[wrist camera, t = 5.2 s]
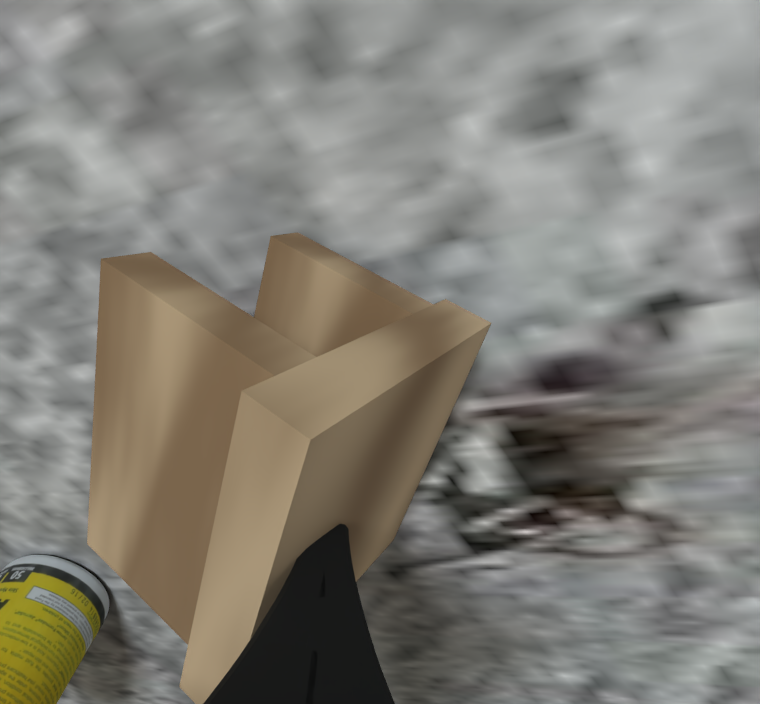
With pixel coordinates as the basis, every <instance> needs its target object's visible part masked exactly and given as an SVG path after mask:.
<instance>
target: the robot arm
mask: <svg viewBox="0 0 760 704" xmlns="http://www.w3.org/2000/svg"><path fill="white" fill-rule="evenodd" d="M203 704H395V703H394V701H393V698H392V696H391V693H390V691H389V688H388V686H387V683H386V680H385V678H384V675H383V672H382V670H381V667H380V664H379V661H378V658H377V655H376V652H375V649H374V646H373V643H372V640H371V637H370V634H369V630H368V627H367V623H366V620H365V616H364V613H363V609H362V605H361V601H360V597H359V593H358V589H357V584H356V580H355V575H354V569H353V564H352V558H351V551H350V543H349V529H348V528H347V526H346V525H345V524H339V525H337V526H336V527H334V528H333V529H331V530H330V531H329V532H327V533H326V534H324V535H323V536H322V537H321V538H319V539H318V540H317V541H315V542H314V543H313V544H311V545H310V546H309V547H308V548H306V549H305V550H304V552H303V553H302V554H301V555H300V556H299V557H298V558H297V559H296V562H295V564H294V566H293V568H292V570H291V572H290V574H289V576H288V577H287V579H286V581H285V583H284V585H283V587H282V589H281V591H280V593H279V594H278V596H277V598H276V600H275V601H274V603H273V605H272V606H271V608H270V609H269V611H268V613H267V614H266V616H265V618H264V619H263V621H262V622H261V624H260V626H259V627H258V629H257V630H256V632H255V634H254V635H253V637H252V638H251V640H250V641H249V642H248V644H247V645H246V647H245V648H244V650H243V651H242V653H241V654H240V656H239V657H238V658H237V660H236V661H235V663H234V664H233V665H232V667H231V668H230V669H229V671H228V672H227V674H226V675H225V676H224V677H223V679H222V680H221V681H220V683H219V684H218V685H217V687H216V688H215V689H214V690H213V692H212V693H211V694H210V696H209V697H208V698H207V700H206V701H205V702H204V703H203Z"/></svg>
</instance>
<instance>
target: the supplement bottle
mask: <svg viewBox="0 0 760 704" xmlns="http://www.w3.org/2000/svg"><path fill="white" fill-rule="evenodd" d="M108 611H109V597H108V594H107V592H106V590H105V588H104V586H103V585H102V584H101V583H100V581H99V580H98V579H97V578H96V577H95V576H94V575H92V574H91V573H90V572H88V571H87V570H85V569H84V568H82V567H80V566H78V565H76V564H74V563H72V562H70V561H67V560H65V559H62V558H59V557H55V556H49V555H29V556H24V557H21V558H18V559H16V560H14V561H12V562H11V563H9V564H8V565H7V566H6V567H5V568H4V569H3V570H2V571H1V572H0V704H56V703H57V702H58V700H59V698H60V697H61V695H62V693H63V691H64V690H65V688H66V686H67V684H68V683H69V681H70V679H71V678H72V676H73V674H74V672H75V671H76V669H77V667H78V666H79V664H80V662H81V660H82V659H83V657H84V655H85V654H86V652H87V650H88V648H89V647H90V645H91V643H92V641H93V640H94V638H95V637H96V635H97V633H98V631H99V629H100V628H101V626H102V624H103V622H104V620H105V618H106V616H107V614H108Z"/></svg>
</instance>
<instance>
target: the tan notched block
mask: <svg viewBox="0 0 760 704" xmlns="http://www.w3.org/2000/svg"><path fill="white" fill-rule="evenodd" d="M490 325H491V323H490V322H488V321H486V320H485V319H483V318H481V317H479V316H477V315H475V314H473V313H471V312H469V311H467V310H465V309H463V308H462V307H460V306H458V305H456V304H454V303H452V302H450V301H448V300H446V299H445V300H443V301H440V302H438V303H436V304H434V305H433V304H431V303H429V302H427V301H426V300H424V299H422V298H420V297H418V296H416V295H414V294H412V293H410V292H409V291H407V290H405V289H403V288H401V287H399V286H397V285H395V284H394V283H392V282H390V281H388V280H386V279H384V278H382V277H380V276H378V275H377V274H375V273H373V272H371V271H369V270H367V269H365V268H363V267H362V266H360V265H358V264H356V263H354V262H352V261H350V260H348V259H346V258H345V257H343V256H341V255H339V254H337V253H335V252H333V251H331V250H330V249H328V248H326V247H324V246H322V245H320V244H318V243H316V242H314V241H313V240H311V239H309V238H307V237H305V236H303V235H301V234H299V233H290V234H283V235H275V236H271V238H270V243H269V248H268V252H267V257H266V262H265V267H264V272H263V277H262V281H261V286H260V291H259V296H258V301H257V305H256V310H255V315H254V317H252V316H251V315H249V314H248V313H246V312H245V311H243V310H241V309H240V308H238V307H237V306H235V305H233V304H232V303H230V302H229V301H227V300H226V299H224V298H222V297H221V296H219V295H218V294H216V293H215V292H213V291H211V290H210V289H208V288H207V287H205V286H203V285H202V284H200V283H199V282H197V281H196V280H194V279H192V278H191V277H189V276H188V275H186V274H185V273H183V272H181V271H180V270H178V269H177V268H175V267H173V266H172V265H170V264H169V263H167V262H166V261H164V260H162V259H161V258H159V257H158V256H156V255H155V254H153V253H151V252H148V253H141V254H133V255H126V256H118V257H111V258H103V259H101V271H100V292H99V312H98V333H97V353H96V374H95V394H94V415H93V435H92V456H91V476H90V497H89V517H88V538H87V544H88V545H89V546H90V547H91V548H92V549H93V550H94V551H95V552H96V553H97V554H98V555H99V556H100V557H101V558H102V559H103V560H104V561H105V562H106V563H107V564H108V565H109V566H110V567H111V568H112V569H113V570H114V571H115V572H116V573H117V574H118V575H119V576H120V577H121V578H122V579H123V580H124V581H125V582H126V583H127V584H128V585H129V586H130V587H131V588H132V589H133V590H134V591H135V592H136V593H137V594H138V595H139V596H140V597H141V598H142V599H143V600H144V601H145V602H146V603H147V604H148V605H149V606H150V607H151V608H152V609H153V610H154V611H155V612H156V613H157V614H158V615H159V616H160V617H161V618H162V619H163V620H164V621H165V622H166V623H167V624H168V625H169V626H170V627H171V628H172V629H173V630H174V631H175V632H176V633H177V634H178V635H179V636H180V637H181V638H182V639H183V640H184V641H185V642H186V643H187V644H188V648H187V653H186V658H185V662H184V667H183V672H182V677H181V681H180V686H179V687H180V688H181V689H182V690H183V691H184V692H185V693H186V694H187V695H188V696H189V697H190V698H191V699H192V700H193V702H194V703H195V704H203V703H204V702H205V701H206V700H207V698H208V697H209V696H210V694H211V693H212V692H213V690H214V689H215V688H216V687H217V685H218V684H219V683H220V681H221V680H222V679H223V677H224V676H225V675H226V674H227V672H228V671H229V669H230V668H231V667H232V665H233V664H234V663H235V661H236V660H237V658H238V657H239V656H240V654H241V653H242V651H243V650H244V648H245V647H246V645H247V644H248V642H249V641H250V640H251V638H252V637H253V635H254V634H255V632H256V630H257V629H258V627H259V626H260V624H261V622H262V621H263V619H264V618H265V616H266V614H267V613H268V611H269V609H270V608H271V606H272V605H273V603H274V601H275V600H276V598H277V596H278V594H279V593H280V591H281V589H282V587H283V585H284V583H285V581H286V579H287V577H288V576H289V574H290V572H291V570H292V568H293V566H294V564H295V562H296V559H297V558H298V557H299V556H300V555H301V554H302V553H303V552H304V550H305V549H306V548H308V547H309V546H310V545H311V544H313V543H314V542H315V541H317V540H318V539H319V538H321V537H322V536H323V535H324V534H326V533H327V532H329V531H330V530H331V529H333V528H334V527H336V526H337V525H339V524H345V525H346V526H347V528H348V529H349V543H350V551H351V558H352V564H353V569H354V575H355V580H356V582H357V580H358V579H359V578H360V577H361V576H362V575H363V574H364V573H365V571H366V570H367V569H368V568H369V567H370V566H371V565H372V564H373V563H374V561H375V560H376V559H377V558H378V557H379V556H380V555H381V554H382V552H383V551H384V550H385V549H386V548H387V547H388V546H389V545H390V543H391V542H392V541H393V540H394V538H395V535H396V533H397V531H398V529H399V527H400V524H401V522H402V520H403V518H404V515H405V513H406V511H407V509H408V507H409V504H410V502H411V500H412V498H413V496H414V493H415V491H416V489H417V487H418V484H419V482H420V480H421V478H422V476H423V473H424V471H425V469H426V467H427V465H428V462H429V460H430V458H431V456H432V453H433V451H434V449H435V447H436V445H437V442H438V440H439V438H440V436H441V434H442V431H443V429H444V427H445V425H446V422H447V420H448V418H449V416H450V414H451V411H452V409H453V407H454V405H455V403H456V400H457V398H458V396H459V394H460V391H461V389H462V387H463V385H464V383H465V380H466V378H467V376H468V374H469V372H470V369H471V367H472V365H473V363H474V360H475V358H476V356H477V354H478V352H479V349H480V347H481V345H482V343H483V341H484V338H485V336H486V334H487V332H488V329H489V327H490Z"/></svg>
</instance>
